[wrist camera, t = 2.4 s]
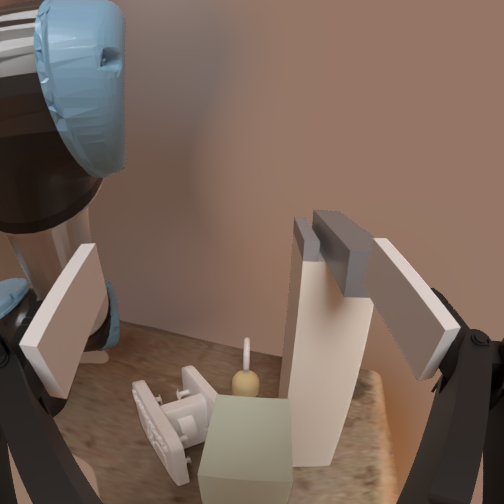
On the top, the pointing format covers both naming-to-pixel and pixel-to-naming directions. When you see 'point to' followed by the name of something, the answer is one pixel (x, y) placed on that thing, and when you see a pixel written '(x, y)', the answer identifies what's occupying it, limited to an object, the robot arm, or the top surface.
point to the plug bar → (343, 250)
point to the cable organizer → (176, 420)
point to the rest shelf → (247, 452)
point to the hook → (245, 377)
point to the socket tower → (319, 351)
